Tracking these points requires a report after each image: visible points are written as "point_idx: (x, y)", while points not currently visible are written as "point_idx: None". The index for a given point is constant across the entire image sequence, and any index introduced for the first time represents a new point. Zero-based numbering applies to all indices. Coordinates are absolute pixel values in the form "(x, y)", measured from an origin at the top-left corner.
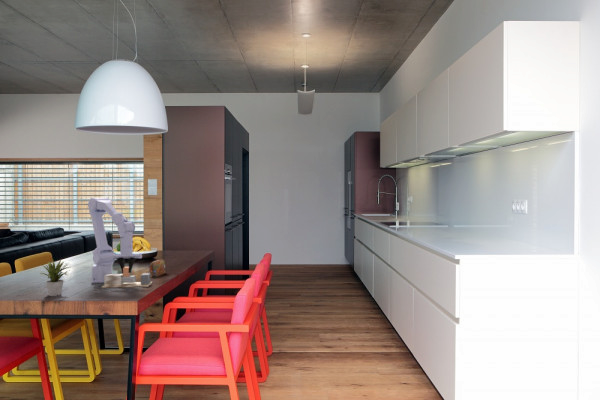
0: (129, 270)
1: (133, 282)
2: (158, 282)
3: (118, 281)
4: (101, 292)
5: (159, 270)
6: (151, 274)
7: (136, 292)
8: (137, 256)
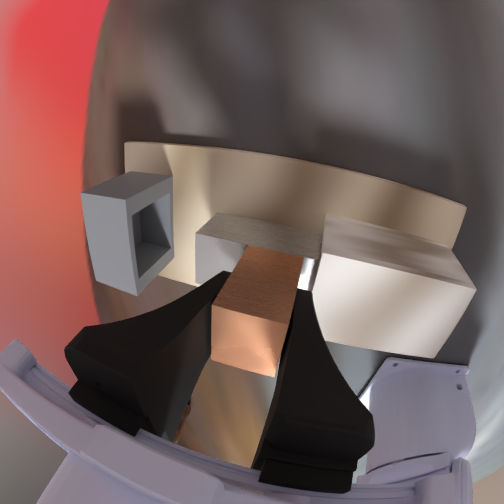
0: (215, 282)
1: (222, 213)
2: None
3: (350, 231)
4: (442, 9)
5: None
6: (186, 406)
7: None
8: (39, 391)
